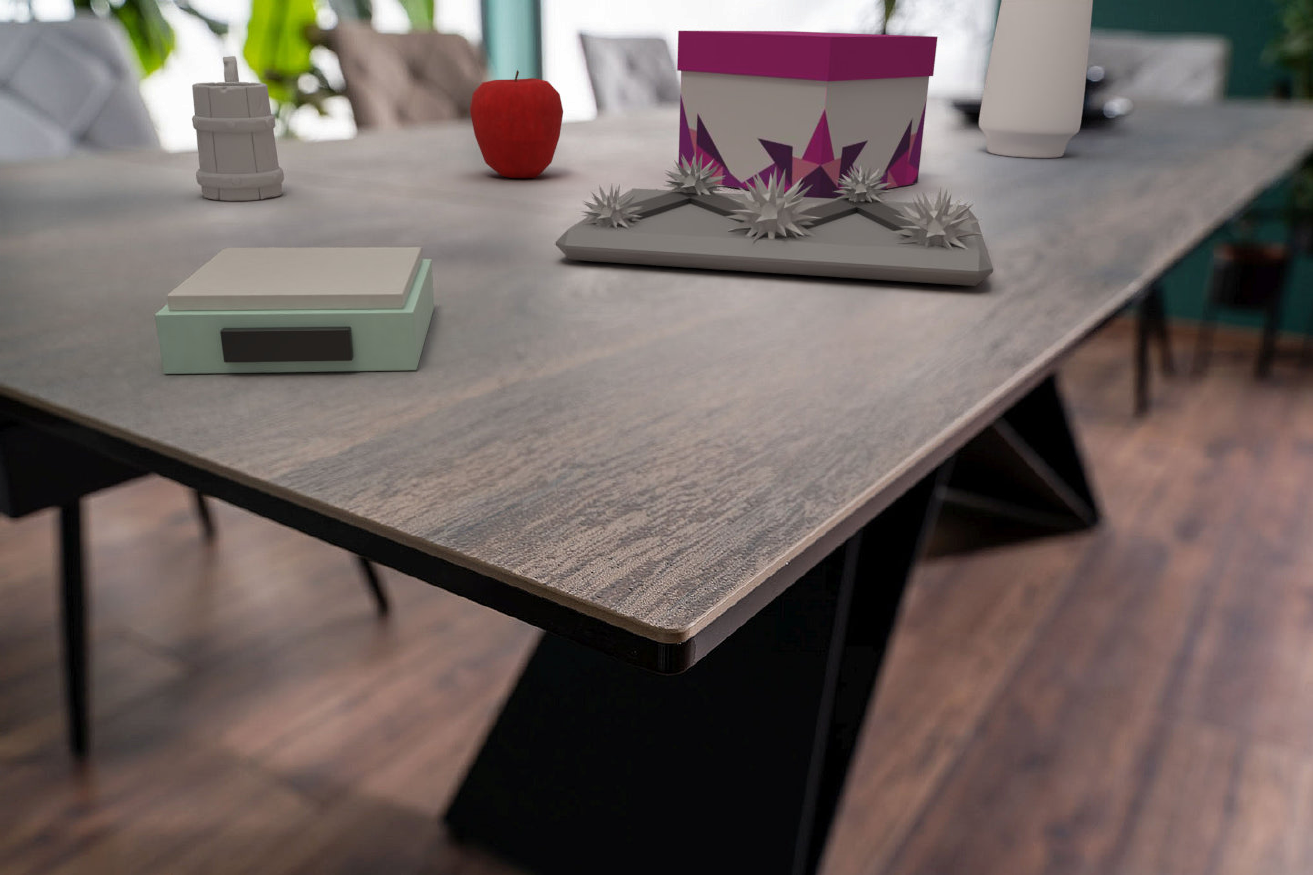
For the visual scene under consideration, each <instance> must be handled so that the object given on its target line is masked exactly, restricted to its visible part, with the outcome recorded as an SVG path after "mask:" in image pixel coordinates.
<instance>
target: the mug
mask: <svg viewBox="0 0 1313 875" xmlns="http://www.w3.org/2000/svg"><path fill="white" fill-rule="evenodd" d="M222 61H223V79H224V81H218V82H213V81H211V82H197V83H193V84H192V86H191V89H192V99H193V110H194V112H193V113H194V115H192V117H191V121H192V126H193V129H194V130H195V133H196V144H197V154H198V164H199V165H198V166H199V168H198V169H197V170H196V174H195V178H196V183H197V184H198V185H199V186H200V188H201V194H202V197H204V198H205V199H209V200H215V201H217V200H219V201H223V202H225V201H227V202H229V201H231V202H242V201H246V202H247V201H249V202H250V201H259V200H265V199H270V198H271V199H272V198H276V197H279V196H282V194H283V186H282V183H283V182H284V180H285V173H284V169H283V168H282V167H281V166H280V165H279V157H278V153H277V152H278V150H277V143H276V137H275V130H274V129H275V128H276V118H275V116H274V115H273V114H272V110H271V103H270V96H269V90H268V84H266V83H263V82H249V81H240V77H239V69H238V60H237V57H236V56H235V55H232V56H231V55H229V56H223V57H222Z"/></svg>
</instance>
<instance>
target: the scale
mask: <svg viewBox="0 0 1313 875" xmlns="http://www.w3.org/2000/svg"><path fill="white" fill-rule="evenodd" d="M433 276H434V275H433V261H432V258H423V251H422V247H420V246H419V247H418V246H417V247H416V246H414V247H413V246H412V247H411V246H410V247H409V246H404V247H402V246H401V247H400V246H399V247H397V246H395V247H394V246H391V247H390V246H386V247H385V246H384V247H382V246H380V247H378V246H377V247H376V246H373V247H367V246H364V247H357V246H356V247H344V246H343V247H224V248H223V249H222V250H220V251H219V252H217V254H215V255H214V256H213V257H212V258H211V259H209V260H208V261H207V262H205V263H204V264H203V265H202V266H200V267H199V268H198V269H197V270H196V271H195V272H193V273H192V274H191V275H189V276H188V277H187V278H186V279H185V280H183V281H182V282H181V283H180V284H179V285H177V286H176V287H175V288H174V289H173V290H171V291H170V292H169V293H168V294H166V301H167V303H166V304H165V306H163V307H162V308H160V310H159V311H157V312H156V313H155V314H154V318H155V325H156V331H157V338H158V345H159V351H160V358H161V363H162V371H163V374H164V375H200V374H203V375H204V374H207V375H208V374H209V375H210V374H262V373H263V374H265V373H269V374H270V373H271V374H272V373H319V372H320V373H327V372H329V373H330V372H331V373H333V372H337V373H338V372H388V371H389V372H397V371H402V372H403V371H418V367H419V363H420V360H421V357H422V352H423V349H424V345H425V342H426V338H427V334H428V331H429V328H430V324H431V320H432V317H433V314H434V310H435V297H434V296H435V295H434V280H433V279H434V278H433Z"/></svg>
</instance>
